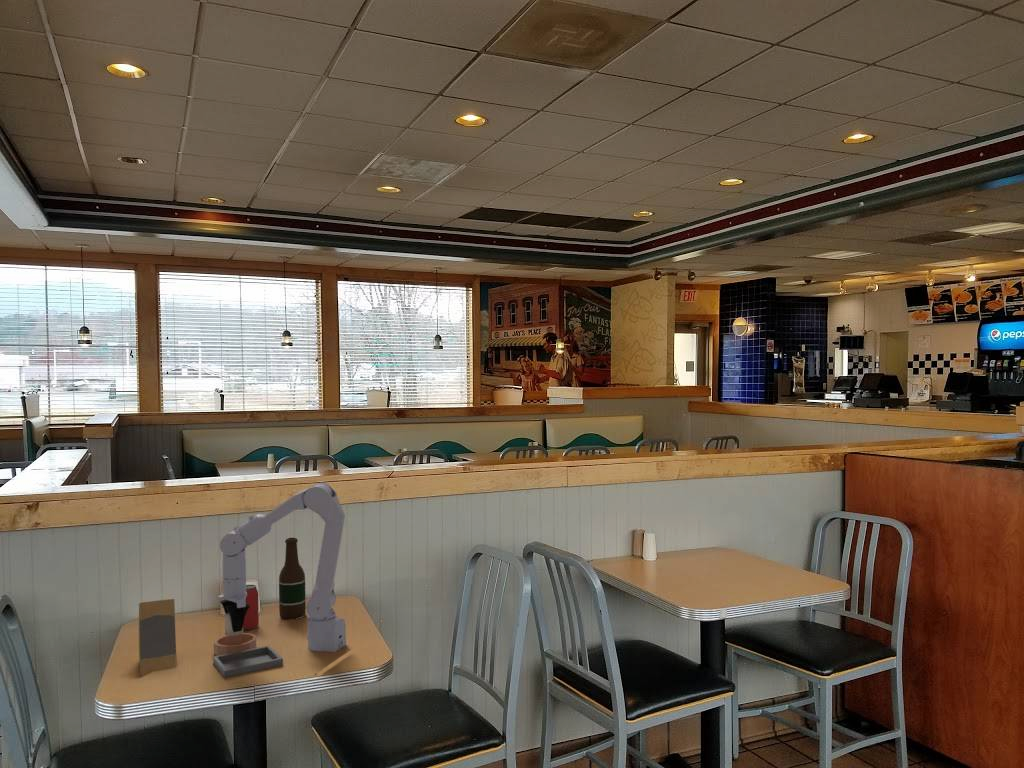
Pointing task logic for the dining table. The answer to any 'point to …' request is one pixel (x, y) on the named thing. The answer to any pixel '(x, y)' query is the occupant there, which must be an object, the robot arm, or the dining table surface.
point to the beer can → (251, 608)
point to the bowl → (234, 643)
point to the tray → (247, 661)
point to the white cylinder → (230, 627)
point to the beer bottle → (292, 584)
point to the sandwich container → (157, 636)
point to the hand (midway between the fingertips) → (235, 628)
